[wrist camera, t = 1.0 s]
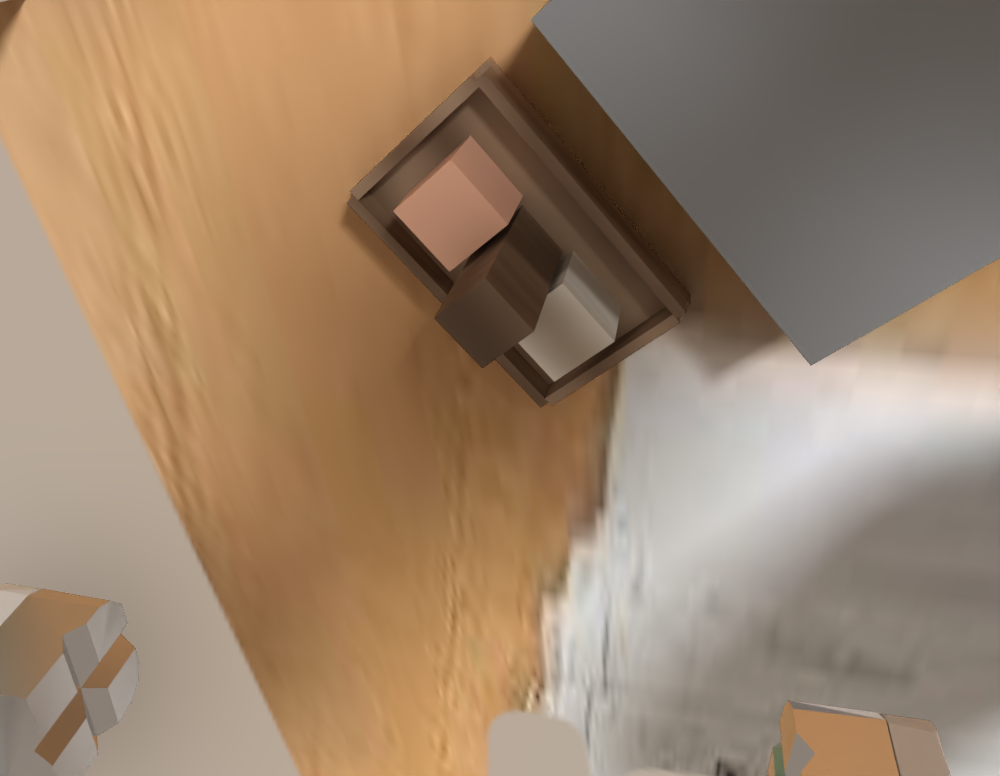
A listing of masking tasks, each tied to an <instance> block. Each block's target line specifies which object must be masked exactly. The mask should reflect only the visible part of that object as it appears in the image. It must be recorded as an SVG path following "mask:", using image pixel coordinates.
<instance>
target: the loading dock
mask: <svg viewBox="0 0 1000 776" xmlns="http://www.w3.org/2000/svg"><path fill="white" fill-rule="evenodd" d="M531 21H532V22H533V23H534V24H535V26H536V27H537V28H538V29H539V31H540V32H541V33H542V34H543V36H544V37H545V38H546V39H547V41H548V42H549V43H550V44H551V45H552V47H553V48H554V49H555V50H556V52H557V53H558V54H559V55H560V57H561V58H562V59H563V60H564V62H565V63H566V64H567V65H568V66H569V68H570V69H571V70H572V71H573V73H574V74H575V75H576V76H577V78H578V79H579V80H580V81H581V83H582V84H583V85H584V86H585V87H586V89H587V90H588V91H589V92H590V94H591V95H592V96H593V97H594V99H595V100H596V101H597V102H598V104H599V105H600V106H601V107H602V108H603V110H604V111H605V112H606V113H607V115H608V116H609V117H610V118H611V120H612V121H613V122H614V123H615V125H616V126H617V127H618V128H619V129H620V131H621V132H622V133H623V134H624V136H625V137H626V138H627V139H628V141H629V142H630V143H631V144H632V146H633V147H634V148H635V149H636V150H637V152H638V153H639V154H640V155H641V157H642V158H643V159H644V160H645V162H646V163H647V164H648V165H649V167H650V168H651V169H652V170H653V171H654V173H655V174H656V175H657V176H658V178H659V179H660V180H661V181H662V183H663V184H664V185H665V186H666V188H667V189H668V190H669V191H670V192H671V194H672V195H673V196H674V197H675V199H676V200H677V201H678V202H679V204H680V205H681V206H682V207H683V209H684V210H685V211H686V212H687V213H688V215H689V216H690V217H691V218H692V220H693V221H694V222H695V223H696V225H697V226H698V227H699V228H700V230H701V231H702V232H703V233H704V234H705V236H706V237H707V238H708V239H709V241H710V242H711V243H712V244H713V246H714V247H715V248H716V249H717V251H718V252H719V253H720V254H721V255H722V257H723V258H724V259H725V260H726V262H727V263H728V264H729V265H730V267H731V268H732V269H733V270H734V272H735V273H736V274H737V275H738V276H739V278H740V279H741V280H742V281H743V283H744V284H745V285H746V286H747V288H748V289H749V290H750V291H751V293H752V294H753V295H754V296H755V297H756V299H757V300H758V301H759V302H760V304H761V305H762V306H763V307H764V309H765V310H766V311H767V312H768V314H769V315H770V316H771V317H772V318H773V320H774V321H775V322H776V323H777V325H778V326H779V327H780V328H781V330H782V331H783V332H784V333H785V335H786V336H787V337H788V338H789V339H790V341H791V342H792V343H793V344H794V346H795V347H796V348H797V349H798V351H799V352H800V353H801V354H802V356H803V357H804V358H805V359H806V360H807V362H808V363H809V364H810V365H813V364H815V363H816V362H818V361H820V360H822V359H823V358H825V357H827V356H829V355H830V354H832V353H834V352H836V351H837V350H839V349H841V348H843V347H844V346H846V345H848V344H850V343H851V342H853V341H855V340H857V339H858V338H860V337H862V336H864V335H865V334H867V333H869V332H871V331H872V330H874V329H876V328H878V327H879V326H881V325H883V324H885V323H886V322H888V321H890V320H892V319H893V318H895V317H897V316H899V315H900V314H902V313H904V312H906V311H907V310H909V309H911V308H913V307H914V306H916V305H918V304H920V303H921V302H923V301H925V300H927V299H928V298H930V297H932V296H934V295H935V294H937V293H939V292H941V291H943V290H944V289H946V288H948V287H950V286H951V285H953V284H955V283H957V282H958V281H960V280H962V279H964V278H965V277H967V276H969V275H971V274H972V273H974V272H976V271H978V270H979V269H981V268H983V267H985V266H986V265H988V264H990V263H992V262H993V261H995V260H997V259H999V258H1000V0H550V1H549V2H548V3H547V4H546V5H545V6H544V7H543V8H542V9H541V10H540V11H539V12H538V13H537V14H536V15H535V16H534V17H533V18H532V19H531Z"/></svg>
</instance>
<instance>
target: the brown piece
mask: <svg viewBox="0 0 1000 776" xmlns="http://www.w3.org/2000/svg"><path fill="white" fill-rule="evenodd" d="M470 135H471V136H472V138H473V139H474V140H475V141H476V142H477V143H478V145H479V146H480V147H481V148H482V149H483V150H484V151H485V153H486V154H487V155H488V156H489V157H490V158H491V159H492V161H493V162H494V163H495V164H496V165H497V166H498V168H499V169H500V170H501V171H502V172H503V173H504V174H505V176H506V177H507V178H508V179H509V180H510V181H511V183H512V184H513V185H514V186H515V187H516V188H517V189H518V191H519V192H520V193H521V194H522V195H523V197H522V199H521V201H520V203H519V204H518V206H517V208H516V210H515V212H514V214H513V216H512V218H511V220H510V222H509V224H508V225H507V226H506V227H504V228H503V229H502V230H501V231H499V232H498V233H497V234H496V235H495V236H493V237H492V238H491V239H490V240H488V241H487V242H486V243H485V244H483V245H482V246H481V247H480V248H478V249H477V250H476V251H475V252H473V253H472V254H471V255H470V256H468V257H467V258H466V259H465V260H463V261H462V262H461V263H460V264H459V265H457V266H456V267H455V268H454V269H452V270H451V271H450V272H449V271H448V270H447V269H446V268H445V266H444V265H443V264H442V263H441V262H440V261H439V260H438V259H437V258H436V257H435V256H434V255H433V254H432V252H431V251H430V250H429V249H428V248H427V247H426V246H425V245H424V244H423V243H422V242H421V241H420V240H419V238H418V237H417V236H416V235H415V234H414V233H413V232H412V231H411V230H410V229H409V228H408V227H407V226H406V224H405V223H404V222H403V221H402V220H401V219H400V218H399V217H398V216H397V215H396V214H395V213H394V212H393V211H394V210H395V208H396V207H397V206H398V205H399V204H400V202H401V201H402V200H403V199H404V198H405V197H406V195H407V194H408V193H409V192H410V191H411V189H412V188H413V187H414V186H415V185H416V184H417V183H418V182H419V181H420V180H421V179H422V178H423V177H424V176H426V175H427V174H428V173H429V172H430V171H431V170H432V169H433V168H434V167H436V166H437V165H438V164H439V163H440V162H441V161H442V160H443V159H444V158H446V157H447V156H448V155H449V154H450V153H451V152H452V151H453V150H454V149H456V148H457V147H458V146H459V145H460V144H461V143H462V142H463V141H464V140H466V139H467V138H468V137H469V136H470ZM350 192H351V193H352V194H353V195H354V196H353V197H352V198H351V199H350V200H349V201H348V202H347V204H348V205H349V206H350V207H351V208H352V209H353V210H354V211H355V212H356V213H357V214H358V215H359V216H360V218H361V219H362V220H363V221H364V222H365V223H366V224H367V225H368V226H369V227H370V228H371V229H372V230H373V231H374V232H375V233H376V234H377V235H378V237H379V238H380V239H381V240H382V241H383V242H384V243H385V244H386V245H387V246H388V247H389V248H390V249H391V250H392V251H393V252H394V253H395V254H396V255H397V257H398V258H399V259H400V260H401V261H402V262H403V263H404V264H405V265H406V266H407V267H408V268H409V269H410V270H411V271H412V272H413V273H414V274H415V276H416V277H417V278H418V279H419V280H420V281H421V282H422V283H423V284H424V285H425V286H426V287H427V288H428V289H429V290H430V291H431V292H432V293H433V295H434V296H435V297H436V298H437V299H438V300H439V301H440V302H441V303H442V306H441V307H440V309H439V311H438V313H437V314H436V316H435V320H436V321H437V322H438V323H439V324H440V325H441V326H442V327H443V328H444V329H445V330H446V331H447V332H448V333H449V334H450V335H451V336H452V337H453V338H454V339H455V340H456V341H457V342H458V344H459V345H460V346H461V347H462V348H463V349H464V350H465V351H466V352H467V353H468V354H469V355H470V356H471V357H472V358H473V359H474V360H475V361H476V362H477V363H478V364H479V365H480V366H481V368H484V367H485V366H486V365H488V364H489V363H491V362H492V361H493V360H496V361H497V362H498V363H499V364H500V365H501V366H502V367H503V368H504V369H505V370H506V372H507V373H508V374H509V375H510V376H511V377H512V378H513V379H514V380H515V381H516V382H517V383H518V384H519V385H520V386H521V387H522V388H523V389H524V390H525V392H526V393H527V394H528V395H529V396H530V397H531V398H532V399H533V400H534V401H535V402H536V403H537V404H538V405H539V406H540V407H542V406H543V405H545V404H547V403H548V402H549V403H550V404H551V405H552V406H553V405H554V404H556V403H557V402H559V401H560V400H562V399H563V398H565V397H566V396H568V395H570V394H571V393H573V392H574V391H576V390H577V389H579V388H580V387H582V386H583V385H585V384H586V383H588V382H590V381H591V380H593V379H594V378H596V377H597V376H599V375H600V374H602V373H603V372H605V371H607V370H608V369H610V368H611V367H613V366H614V365H616V364H617V363H619V362H620V361H622V360H623V359H625V358H627V357H628V356H630V355H631V354H633V353H634V352H636V351H637V350H639V349H640V348H642V347H644V346H645V345H647V344H648V343H650V342H651V341H653V340H654V339H656V338H657V337H659V336H660V335H662V334H664V333H665V332H667V331H668V330H670V329H671V328H673V327H674V326H676V325H677V324H679V323H680V316H681V315H683V314H684V313H686V306H687V305H689V304H690V294H689V293H688V292H687V291H686V289H685V288H684V287H683V286H682V285H681V283H680V282H679V281H678V280H677V279H676V277H675V276H674V275H673V274H672V273H671V271H670V270H669V269H668V268H667V267H666V265H665V264H664V263H663V262H662V261H661V259H660V258H659V257H658V256H657V255H656V254H655V252H654V251H653V250H652V249H651V248H650V246H649V245H648V244H647V243H646V242H645V240H644V239H643V238H642V237H641V236H640V234H639V233H638V232H637V231H636V230H635V228H634V227H633V226H632V225H631V224H630V222H629V221H628V220H627V219H626V218H625V216H624V215H623V214H622V213H621V212H620V210H619V209H618V208H617V207H616V206H615V205H614V203H613V202H612V201H611V200H610V199H609V197H608V196H607V195H606V194H605V193H604V191H603V190H602V189H601V188H600V187H599V185H598V184H597V183H596V182H595V181H594V179H593V178H592V177H591V176H590V175H589V173H588V172H587V171H586V170H585V169H584V167H583V166H582V165H581V164H580V163H579V161H578V160H577V159H576V158H575V157H574V155H573V154H572V153H571V152H570V151H569V150H568V148H567V147H566V146H565V145H564V144H563V142H562V141H561V140H560V139H559V138H558V136H557V135H556V134H555V133H554V132H553V130H552V129H551V128H550V127H549V126H548V124H547V123H546V122H545V121H544V120H543V118H542V117H541V116H540V115H539V114H538V112H537V111H536V110H535V109H534V108H533V106H532V105H531V104H530V103H529V102H528V101H527V99H526V98H525V97H524V96H523V95H522V93H521V92H520V91H519V90H518V89H517V87H516V86H515V85H514V84H513V83H512V81H511V80H510V79H509V78H508V77H507V75H506V74H505V73H504V72H503V71H502V69H501V68H500V67H499V66H498V65H497V63H496V62H495V61H494V60H493V59H492V57H490V58H489V59H488V60H487V61H486V62H485V63H484V64H483V65H482V66H481V67H480V68H478V69H477V70H476V71H475V72H474V73H473V74H472V75H471V76H470V77H469V78H468V79H467V80H466V81H465V82H464V83H463V84H462V85H461V86H460V87H459V88H457V89H456V90H455V91H454V92H453V93H452V94H451V95H450V96H449V97H448V98H447V99H446V100H445V101H444V102H443V103H442V104H441V105H440V106H439V107H437V108H436V109H435V110H434V111H433V112H432V113H431V114H430V115H429V116H428V117H427V118H426V119H425V120H424V121H423V122H422V123H421V124H420V125H419V126H418V127H416V128H415V129H414V130H413V131H412V132H411V133H410V134H409V135H408V136H407V137H406V138H405V139H404V140H403V141H402V142H401V143H400V144H399V145H398V146H396V147H395V148H394V149H393V150H392V151H391V152H390V153H389V154H388V155H387V156H386V157H385V158H384V159H383V160H382V161H381V162H380V163H379V164H378V165H377V166H375V167H374V168H373V169H372V170H371V171H370V172H369V173H368V174H367V175H366V176H365V177H364V178H363V179H362V180H361V181H360V182H359V183H358V184H357V185H356V186H355V187H354V188H353V189H352V190H351V191H350ZM573 251H574V252H575V253H576V254H577V255H578V257H579V258H580V259H581V260H582V261H583V262H584V263H585V265H586V266H587V267H588V268H589V269H590V270H591V272H592V273H593V274H594V275H595V276H596V277H597V278H598V280H599V281H600V282H601V283H602V284H603V285H604V286H605V288H606V289H607V290H608V291H609V292H610V293H611V294H612V296H613V297H614V298H615V299H616V300H617V301H618V302H619V304H620V305H621V311H620V316H619V321H618V327H617V332H616V337H615V342H613V343H612V344H610V345H609V346H607V347H606V348H604V349H603V350H601V351H600V352H598V353H597V354H595V355H594V356H592V357H591V358H589V359H588V360H586V361H585V362H583V363H582V364H580V365H579V366H577V367H576V368H574V369H573V370H571V371H570V372H568V373H567V374H565V375H564V376H562V377H561V378H559V379H558V380H556V381H555V382H554V381H553V380H552V379H551V378H550V377H549V375H548V374H547V373H546V372H545V371H544V370H543V369H542V368H541V367H540V366H539V365H538V364H537V363H536V361H535V360H534V359H533V358H532V357H531V356H530V355H529V354H528V353H527V352H526V351H525V350H524V349H523V348H522V346H521V345H520V344H519V342H520V341H521V340H523V339H524V338H526V337H527V336H528V335H530V334H531V333H533V332H534V330H535V327H536V325H537V322H538V319H539V316H540V313H541V311H542V308H543V305H544V302H545V299H546V297H547V294H548V291H549V288H550V285H551V283H552V280H553V277H554V274H555V271H556V269H557V266H558V263H559V261H561V260H562V259H563V258H565V257H566V256H567V255H569V254H570V253H571V252H573Z"/></svg>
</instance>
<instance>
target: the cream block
mask: <svg viewBox="0 0 1000 776" xmlns="http://www.w3.org/2000/svg"><path fill="white" fill-rule="evenodd" d="M620 311H621V305H620V304H619V302H618V301H617V300H616V299H615V298H614V297H613V296H612V294H611V293H610V292H609V291H608V290H607V289H606V288H605V286H604V285H603V284H602V283H601V282H600V281H599V280H598V278H597V277H596V276H595V275H594V274H593V273H592V272H591V270H590V269H589V268H588V267H587V266H586V265H585V263H584V262H583V261H582V260H581V259H580V258H579V257H578V255H577V254H576V253H575V252H574V251H573V252H571V253H570V254H569V255H567V256H566V257H565V258H563V259H562V260H561V261H559V263H558V266H557V269H556V271H555V274H554V277H553V280H552V283H551V285H550V288H549V291H548V294H547V297H546V299H545V302H544V305H543V308H542V311H541V313H540V316H539V319H538V322H537V325H536V327H535V330H534V332H533V333H531V334H530V335H528V336H527V337H526V338H524V339H523V340H521V341H520V342H519V344H520V345H521V346H522V348H523V349H524V350H525V351H526V352H527V353H528V354H529V355H530V356H531V357H532V358H533V359H534V360H535V361H536V363H537V364H538V365H539V366H540V367H541V368H542V369H543V370H544V371H545V372H546V373H547V374H548V375H549V377H550V378H551V379H552V380H553V381H554V382H555V381H556V380H558V379H559V378H561V377H562V376H564V375H565V374H567V373H568V372H570V371H571V370H573V369H574V368H576V367H577V366H579V365H580V364H582V363H583V362H585V361H586V360H588V359H589V358H591V357H592V356H594V355H595V354H597V353H598V352H600V351H601V350H603V349H604V348H606V347H607V346H609V345H610V344H612V343H613V342H615V337H616V332H617V327H618V321H619V316H620Z"/></svg>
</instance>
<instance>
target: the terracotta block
mask: <svg viewBox="0 0 1000 776" xmlns="http://www.w3.org/2000/svg"><path fill="white" fill-rule="evenodd" d="M522 197H523V195H522V194H521V193H520V192H519V191H518V189H517V188H516V187H515V186H514V185H513V184H512V183H511V181H510V180H509V179H508V178H507V177H506V176H505V174H504V173H503V172H502V171H501V170H500V169H499V168H498V166H497V165H496V164H495V163H494V162H493V161H492V159H491V158H490V157H489V156H488V155H487V154H486V153H485V151H484V150H483V149H482V148H481V147H480V146H479V145H478V143H477V142H476V141H475V140H474V139H473V138H472V136H471V135H470V136H469V137H468V138H467V139H466V140H464V141H463V142H462V143H461V144H460V145H459V146H458V147H457V148H456V149H454V150H453V151H452V152H451V153H450V154H449V155H448V156H447V157H446V158H444V159H443V160H442V161H441V162H440V163H439V164H438V165H437V166H436V167H434V168H433V169H432V170H431V171H430V172H429V173H428V174H427V175H426V176H424V177H423V178H422V179H421V180H420V181H419V182H418V183H417V184H416V185H415V186H414V187H413V188H412V189H411V191H410V192H409V193H408V194H407V195H406V197H405V198H404V199H403V200H402V201H401V202H400V204H399V205H398V206H397V207H396V208H395V210H394V211H393V212H394V213H395V214H396V215H397V216H398V217H399V218H400V219H401V220H402V221H403V222H404V223H405V224H406V226H407V227H408V228H409V229H410V230H411V231H412V232H413V233H414V234H415V235H416V236H417V237H418V238H419V240H420V241H421V242H422V243H423V244H424V245H425V246H426V247H427V248H428V249H429V250H430V251H431V252H432V254H433V255H434V256H435V257H436V258H437V259H438V260H439V261H440V262H441V263H442V264H443V265H444V266H445V268H446V269H447V270H448V271H449V272H450V271H451V270H452V269H454V268H455V267H456V266H457V265H459V264H460V263H461V262H462V261H463V260H465V259H466V258H467V257H468V256H470V255H471V254H472V253H473V252H475V251H476V250H477V249H478V248H480V247H481V246H482V245H483V244H485V243H486V242H487V241H488V240H490V239H491V238H492V237H493V236H495V235H496V234H497V233H498V232H499V231H501V230H502V229H503V228H504V227H506V226H507V225H508V224H509V222H510V220H511V218H512V216H513V214H514V212H515V210H516V208H517V206H518V204H519V203H520V201H521V199H522Z"/></svg>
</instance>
